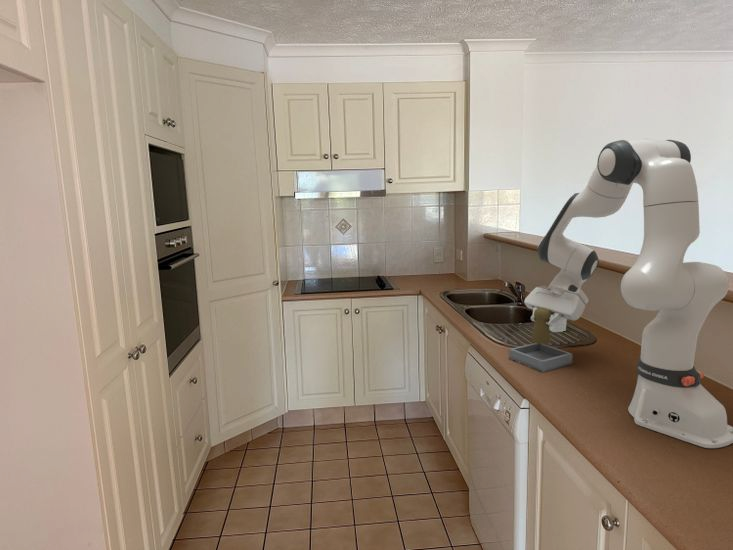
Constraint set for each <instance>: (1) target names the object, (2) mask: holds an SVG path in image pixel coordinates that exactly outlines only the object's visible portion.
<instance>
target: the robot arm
mask: <svg viewBox="0 0 733 550" xmlns="http://www.w3.org/2000/svg"><path fill="white" fill-rule="evenodd" d="M691 156H692V155H691V151H690V148H689V146H687V144H686V143H684V142H681V141H679V140H674V139H667V140H666V139H665V140H664V139H663V140H662V139H651V138H650V139H649V138H636V139H628V140H625V139H621V140H616V141H612V142H610V143H607V144H606V145H604V146H603V148H602V149H601V151H600V152H599V155H598V156H597V165H596V166H595V168H594V170H593V171H592V173H591V176H590V178H589V180H588V181H587V185H586V186H585V188H584V189H583V190H582V191H581V192H577V193H576V192H575V193H573V195H572V196H570V197H569V198H568V200H567V201H566V202H565V203H564V205H563V206H562V208H561V210H560V211H559V213H558V214H557V216H556V217H555V219H554V221H553V222H552V225H550V228H549V229H548V231H547V232H546V234H545V235H544V236H543V238H541V240H540V242H539V243H538V245H537V247H536V248H537V249H536V252H537V255H538V257H539V259H540V261H542V262H544V263H547V264H551V265H553V266H555V267H557V268H560V270H559V272H558V273H557V274H555V276H554V278H553V279H552V281H551V282H550V283H549V285H548V286H546V285H540V286H536V287H535V288H534V289H533V290H532V291H530V293H528V295H527V296H526V297H525V299H524V305H525V306H526V307H527V309H530V310H532V315H531V316H530V320H531V322H534V323H535V319H536V318H535V316H534V311H535V310H536V309H538V308H545V309H548V310H550V312H551V315H554V317H553V318H551V319H548V320H547V321H546V324H547V325H548V326H551V327H552V326H553V324H554V323H555V322H557V321H559V320H560V319H561V318H566V319H567V320H570V321H573V322H574V321H577V320H578V319H579V318H580V317H581V316H582V314H583V312H584V311H585V308H586V305H587V304H588V302H589V301H590V300H589V298H588V296H587V295H586V293H585V292H584V291H583V290H582V286H583V284H584V283H585V282H586V281H587V280H589V279H590V278H591V277H592V275H593V274H594V273H595V270H596V269H597V267H598V266H599V262H600V261H599V257H598V254H597V252H596V250H594V249H593V248H591V247H589V246H586V245H584V244H581V243H579V242H577V241H575V240H572V239H570V238H568V237H566V236H565V235H564V232H565V230H566V229H567V227H568V225H569V224H570V223H571V221H572V219H574V218H581V217H583V218H605V217H608V216H609V217H610V216H612V215H614V214H616V213H617V212H618V211H620V209H621V208H622V206H623V205H624V204H625V202H626V200H627V198H628V196H629V194H630V191H631V189H632V186H633V185H634V184H638V185H639V186H640V187H641V189H642V194H643V195H642V196H643V200H642V201H643V202H642V203H643V240H642V246H641V249H640V252H639V254H638V257H637V259H636V260H635V262H634V264H633V265H632V266H631V267H630V268H629V270H628V271H626V272H625V273H624V275H623V276H622V279H621V282H620V292H621V296H622V298H623V300H624V301H625V302H626V304H627V305H629V306H630V307H632V308H634V309H639V310H645V311H653V312H655V311H659V312H658V313H657V315H656V316H655V317H654V318H653V320H651V321H650V322H649V323H647V325H645V327H644V328H643V330H642V336H641V345H640V346H641V347H640V357H638V359H637V369H636V376H637V379H636V380H637V381H636V386H635V390H634V393H633V396H632V399H631V402H630V404H629V405H628V407H627V408H628V409H627V410H628V412H629V414H630V415H631V416H632V417H633V420H634V424H636V425H637V426H640V427H643V428H646V429H648V430H651V431H655V432H658V433H660V434H664V435H666V436H669V437H672V438H675V439H677V440H679V441H683V442H686V443H690V444H693V445H694V446H699V447H701V448H705V449H719V448H724V447H727V446H729V445H731V444H733V426H732V425H729V424H728V415H727V411H726V408H725V407H724V405H723V404H722V403H721V402H720V401H718V400H717V398H715V397H714V396H713V395H712V394H711V393H710V392H709V391H708V390H707V389H706V388H705V387H704V386H703V385H702V384H701V379H702V378H704V377H705V374H706V373H705V372H704V371H703V372H701V373H699V372H698V371H697V369H696V367H695V365H694V364H695V363H694V362H695V356H696V355H695V354H696V349H697V341H698V337H699V335H700V334H699V333H700V332H701V330H702V326H703V325H704V323H705V321H706V319H707V318H708V316H709V314H710V312H711V311H712V310H713V308H714V307H715V306H716V305H717V304H718V303H719V302H721V300H723V299H724V298H725V297H726V295H727V294H728V291H729V288H730V282H729V281H730V280H729V278H728V275H727V273H726V272H725V270H723V268H722V267H720V266H718V265H715V264H712V263H706V262H701V261H687V262H685V261H684V259H685V255H686V253H687V250H688V249H689V247H690V246H691V244H693V243H694V242H695V241H697V240H698V238H699V236H700V211H699V210H700V209H699V208H700V207H699V191H698V186H697V181H696V176H695V173H694V169H693V166H692V164H691V161H692V159H691V158H692V157H691Z"/></svg>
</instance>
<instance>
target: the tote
mask: <svg viewBox="0 0 733 550" xmlns="http://www.w3.org/2000/svg"><path fill="white" fill-rule="evenodd" d="M508 351H509V354H508V359H509V358H510V359H509V360H511V359H512V360H511V361H513V360H515V361H514V362H516V361H518V362H520V363H522V364H521V365H523V364H525V365H527V366H526V367H528V366H530V367H532V368H531V369H533V368H534V369H533V370H535V369H536V370H535V371H537V370H539V371H538V372H540V371H541V372H540V373H545V372H549V371H552V370H555V369H560V368H562V367H566V366H570V365H572V364H573V357H574V356H573V353H571V352H570V351H569V352H568V351H566V350H562V349H559V348H557V347H553V346H552V345H549V344H538V343H534V342H533V343H530V344H524V345H521V346H517V347H512V348H509V350H508ZM518 362H517V363H518ZM520 363H519V364H520ZM525 365H524V366H525ZM530 367H529V368H530Z"/></svg>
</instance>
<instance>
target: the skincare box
mask: <svg viewBox="0 0 733 550" xmlns="http://www.w3.org/2000/svg"><path fill="white" fill-rule="evenodd" d="M553 317H554V315H551V317H550V318H549V319H551V318H553ZM567 321H568V319H566V318H561V319H560V320H559V321H557V322H555V323H554V324H553V326H552V327H551V326H549V328H550V332H552V333H564V332H563V331H566V332H567V323H568V322H567Z"/></svg>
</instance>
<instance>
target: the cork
mask: <svg viewBox="0 0 733 550" xmlns="http://www.w3.org/2000/svg"><path fill="white" fill-rule="evenodd" d="M534 316H535V318H536V319H535V322H534V325H533V330H532V334H531V339H530V341H531V343H532V342H533V343H538V344H546V345H550V344H551V331H550V328H549V326H548V325H547V324H546V321H547V320H548V319H549V318H550V317H551V312H550V310H548V309H545V308H538V309H536V310H535V311H534Z"/></svg>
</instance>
